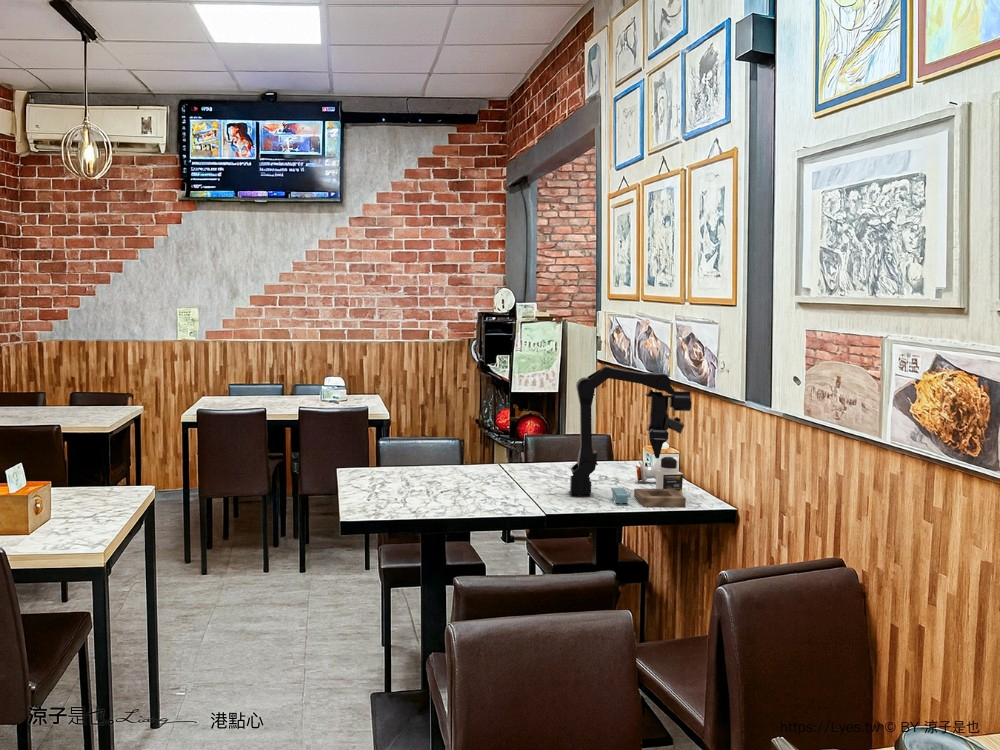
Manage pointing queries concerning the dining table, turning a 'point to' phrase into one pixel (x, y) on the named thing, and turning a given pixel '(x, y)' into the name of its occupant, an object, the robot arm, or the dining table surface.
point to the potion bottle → (648, 471)
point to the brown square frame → (660, 497)
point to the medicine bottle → (669, 475)
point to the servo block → (620, 495)
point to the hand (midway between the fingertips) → (656, 456)
